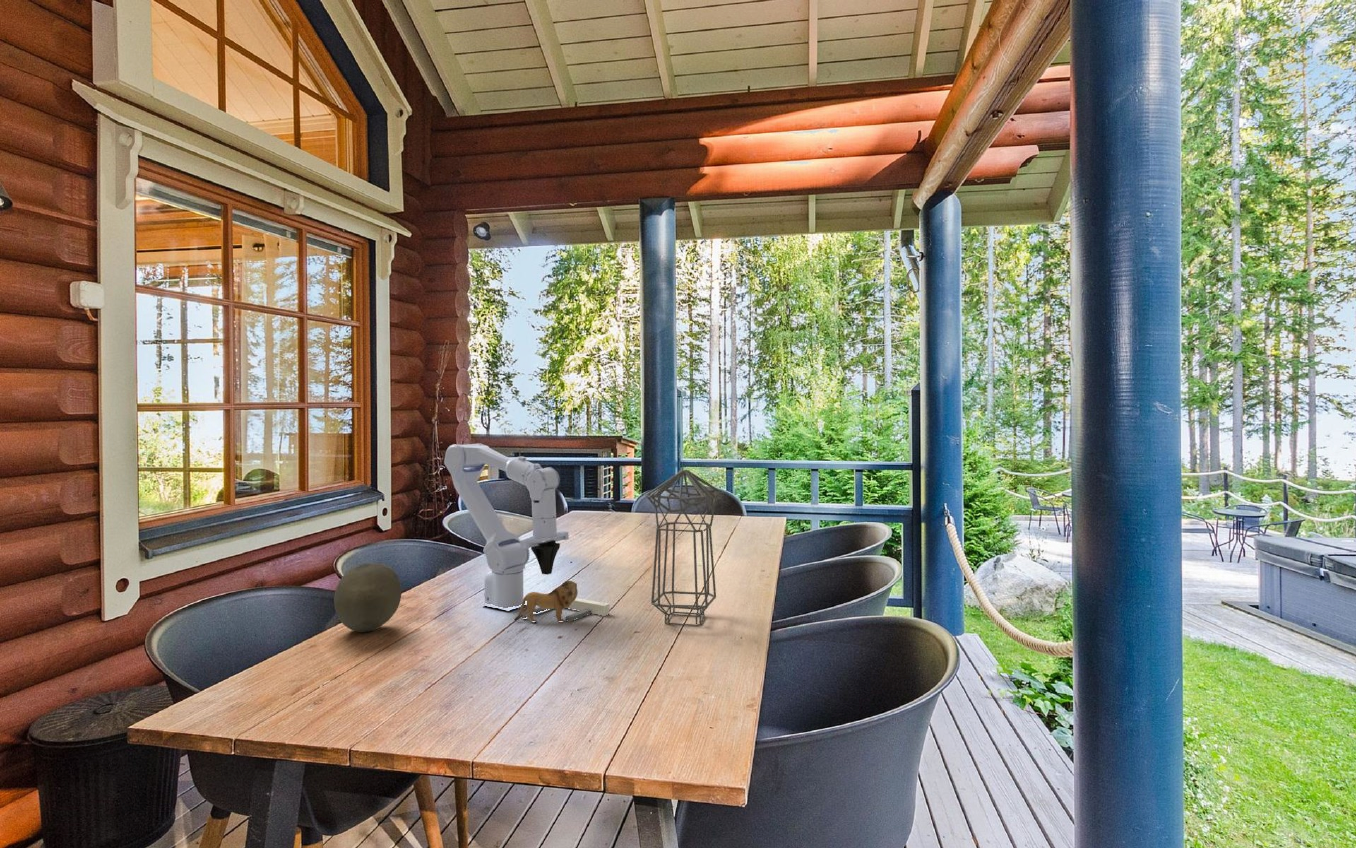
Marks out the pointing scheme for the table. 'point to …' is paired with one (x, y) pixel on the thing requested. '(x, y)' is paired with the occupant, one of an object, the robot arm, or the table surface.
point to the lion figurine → (550, 600)
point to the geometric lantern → (701, 498)
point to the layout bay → (585, 608)
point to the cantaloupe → (367, 596)
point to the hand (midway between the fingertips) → (546, 573)
